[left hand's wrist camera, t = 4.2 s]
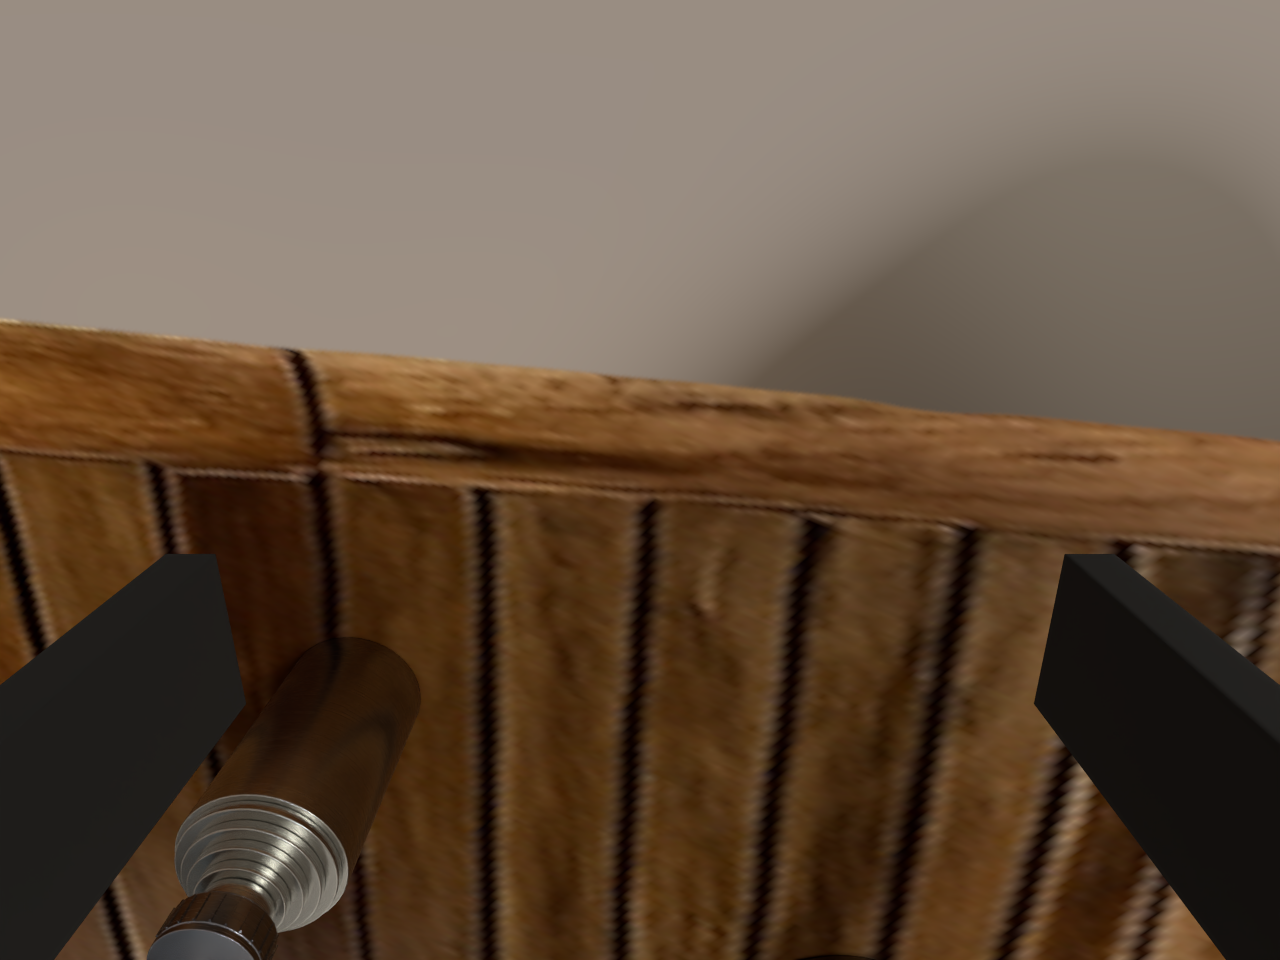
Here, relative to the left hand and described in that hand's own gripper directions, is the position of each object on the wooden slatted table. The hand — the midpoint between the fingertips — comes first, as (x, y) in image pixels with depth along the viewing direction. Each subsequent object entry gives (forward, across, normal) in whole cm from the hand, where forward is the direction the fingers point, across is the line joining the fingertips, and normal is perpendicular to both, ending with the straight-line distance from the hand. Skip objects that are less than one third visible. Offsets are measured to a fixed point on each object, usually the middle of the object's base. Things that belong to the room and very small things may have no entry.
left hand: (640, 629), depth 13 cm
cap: (+11, +16, +21) cm, 29 cm away
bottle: (+28, +16, +21) cm, 39 cm away
